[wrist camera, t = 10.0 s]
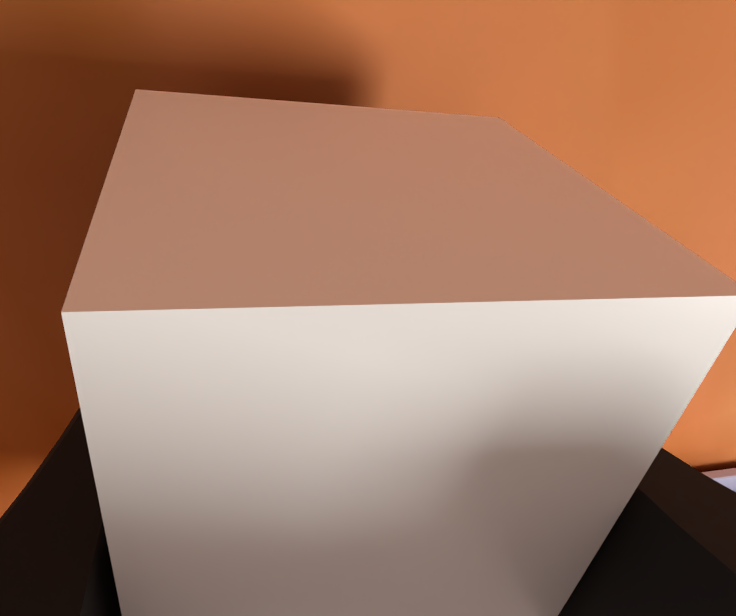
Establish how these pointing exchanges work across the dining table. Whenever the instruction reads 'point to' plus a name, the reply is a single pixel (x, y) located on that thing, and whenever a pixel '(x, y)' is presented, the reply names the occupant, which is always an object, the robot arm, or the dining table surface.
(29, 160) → the dining table surface
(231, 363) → the cream rectangular prism
